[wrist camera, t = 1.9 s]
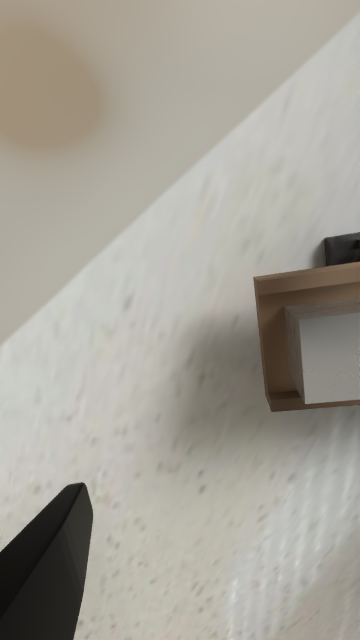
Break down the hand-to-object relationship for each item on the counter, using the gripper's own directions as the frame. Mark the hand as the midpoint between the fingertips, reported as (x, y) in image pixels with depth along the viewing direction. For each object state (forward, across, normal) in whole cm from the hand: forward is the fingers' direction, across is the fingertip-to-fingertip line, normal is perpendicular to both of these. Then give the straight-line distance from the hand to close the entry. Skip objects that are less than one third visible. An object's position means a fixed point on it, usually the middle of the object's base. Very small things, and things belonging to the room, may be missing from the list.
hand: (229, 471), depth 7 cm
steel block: (+8, -8, 0) cm, 11 cm away
